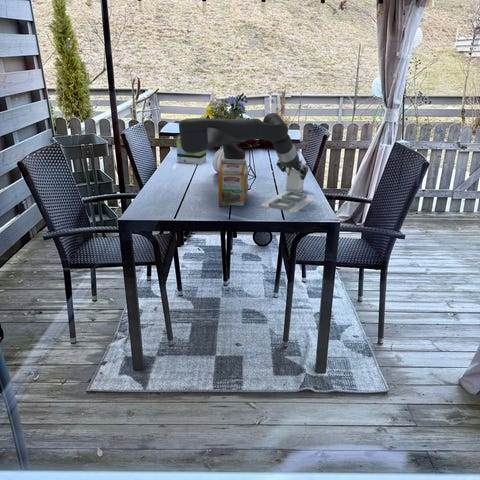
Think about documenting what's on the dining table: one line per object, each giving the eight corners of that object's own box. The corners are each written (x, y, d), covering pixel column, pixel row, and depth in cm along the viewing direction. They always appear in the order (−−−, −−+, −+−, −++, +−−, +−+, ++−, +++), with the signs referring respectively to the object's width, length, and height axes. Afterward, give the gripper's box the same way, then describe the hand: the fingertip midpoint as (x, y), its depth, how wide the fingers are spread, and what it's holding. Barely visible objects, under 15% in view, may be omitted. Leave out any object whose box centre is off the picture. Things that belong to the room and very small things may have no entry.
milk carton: (218, 207, 174) (218, 162, 167) (223, 199, 184) (223, 156, 176) (243, 208, 173) (244, 163, 165) (247, 200, 182) (248, 157, 175)
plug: (297, 189, 176) (300, 165, 172) (287, 187, 179) (289, 164, 175) (302, 187, 180) (304, 163, 176) (291, 185, 182) (293, 162, 178)
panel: (295, 215, 166) (295, 208, 165) (259, 207, 174) (259, 201, 173) (315, 201, 182) (315, 195, 181) (282, 195, 190) (282, 189, 189)
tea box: (176, 162, 246) (175, 137, 240) (183, 159, 254) (182, 134, 248) (200, 164, 242) (199, 139, 236) (206, 161, 250) (206, 136, 244)
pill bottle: (289, 193, 192) (291, 161, 186) (283, 189, 199) (285, 157, 193) (305, 192, 194) (308, 160, 188) (298, 187, 201) (301, 156, 195)
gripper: (267, 159, 167) (279, 182, 182) (300, 164, 161) (310, 187, 175) (274, 143, 170) (285, 167, 184) (307, 148, 163) (316, 172, 177)
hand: (297, 177), depth 179 cm, fingers closed on plug, 5 cm apart
